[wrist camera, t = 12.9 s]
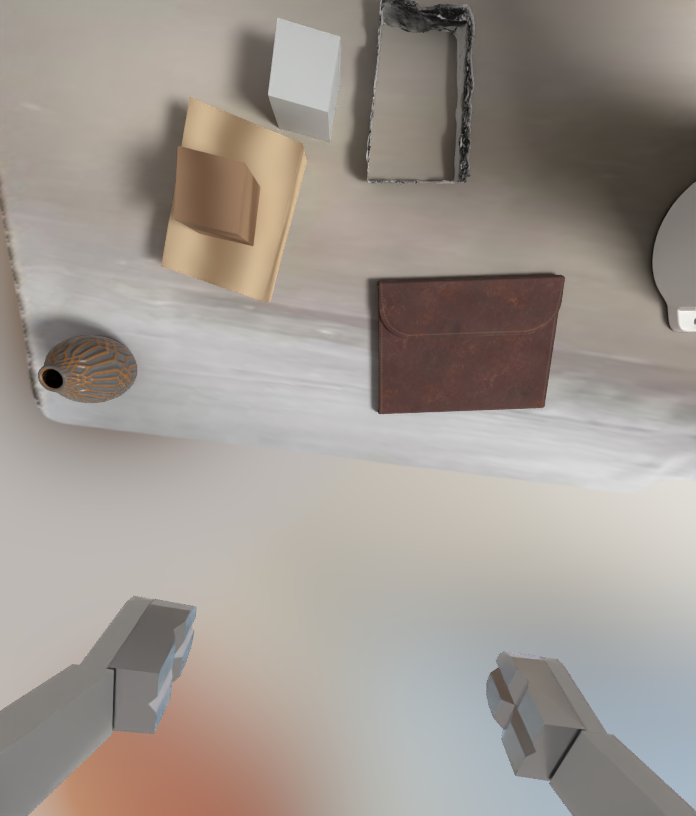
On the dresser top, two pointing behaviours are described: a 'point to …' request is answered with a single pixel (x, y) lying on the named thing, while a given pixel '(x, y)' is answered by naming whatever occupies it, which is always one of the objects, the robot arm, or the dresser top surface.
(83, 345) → the vase
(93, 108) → the dresser top surface
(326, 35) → the grey block
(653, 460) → the dresser top surface
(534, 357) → the notebook
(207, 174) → the walnut cube
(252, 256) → the oak block
